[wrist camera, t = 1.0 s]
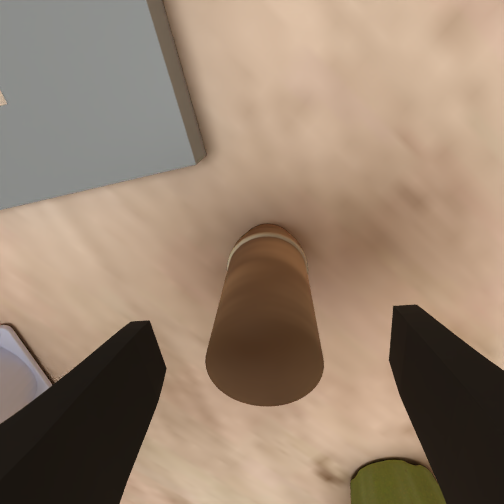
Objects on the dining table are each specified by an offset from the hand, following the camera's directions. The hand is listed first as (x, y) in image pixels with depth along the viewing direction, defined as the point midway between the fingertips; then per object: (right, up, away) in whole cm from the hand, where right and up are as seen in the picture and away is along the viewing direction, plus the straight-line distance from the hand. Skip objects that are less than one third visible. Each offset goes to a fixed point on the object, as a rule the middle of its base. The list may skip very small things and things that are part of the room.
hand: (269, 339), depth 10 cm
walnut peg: (0, +3, +9) cm, 10 cm away
